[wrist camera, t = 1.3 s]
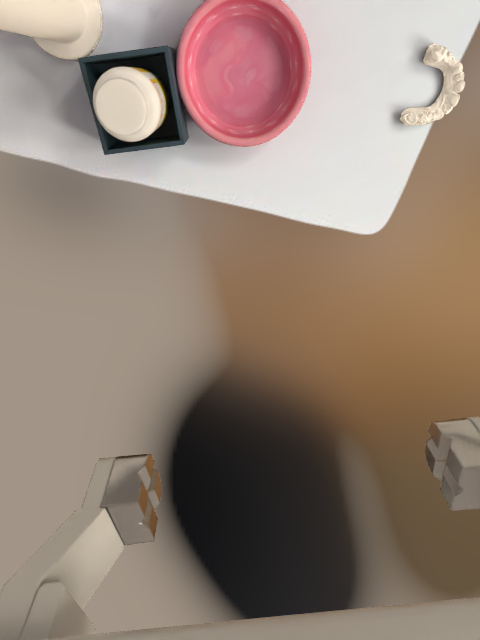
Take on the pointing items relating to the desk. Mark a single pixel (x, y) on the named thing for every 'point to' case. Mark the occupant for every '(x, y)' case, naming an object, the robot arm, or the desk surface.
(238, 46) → the saucer
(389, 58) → the desk surface
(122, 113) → the supplement bottle
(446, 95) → the dentures
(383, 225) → the desk surface
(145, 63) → the tub
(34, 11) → the candle
